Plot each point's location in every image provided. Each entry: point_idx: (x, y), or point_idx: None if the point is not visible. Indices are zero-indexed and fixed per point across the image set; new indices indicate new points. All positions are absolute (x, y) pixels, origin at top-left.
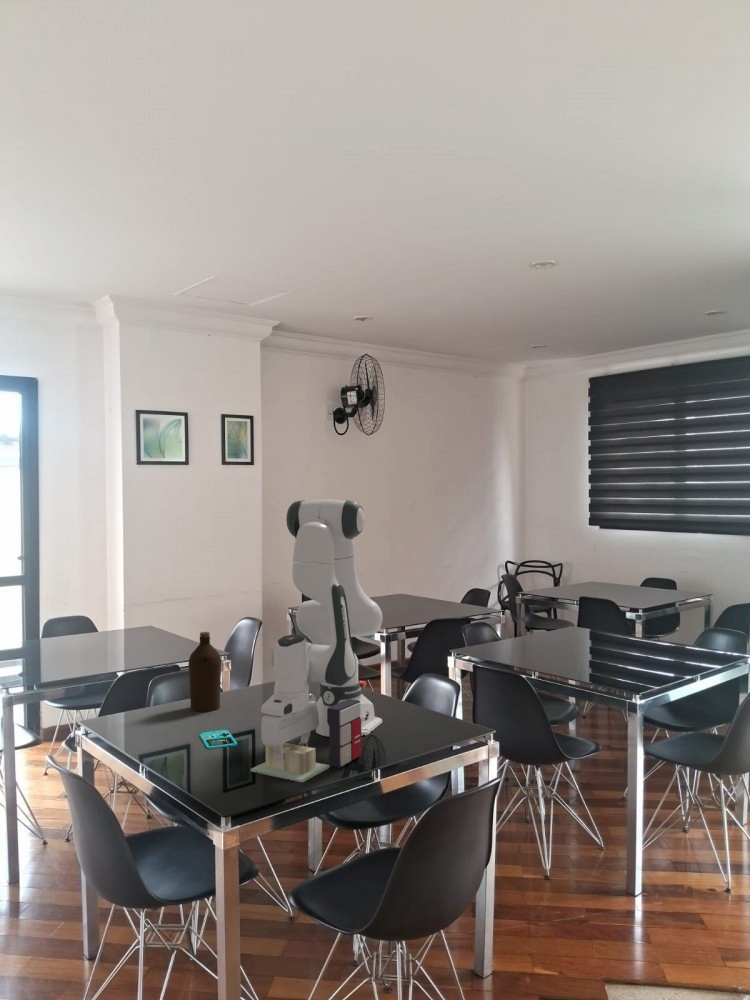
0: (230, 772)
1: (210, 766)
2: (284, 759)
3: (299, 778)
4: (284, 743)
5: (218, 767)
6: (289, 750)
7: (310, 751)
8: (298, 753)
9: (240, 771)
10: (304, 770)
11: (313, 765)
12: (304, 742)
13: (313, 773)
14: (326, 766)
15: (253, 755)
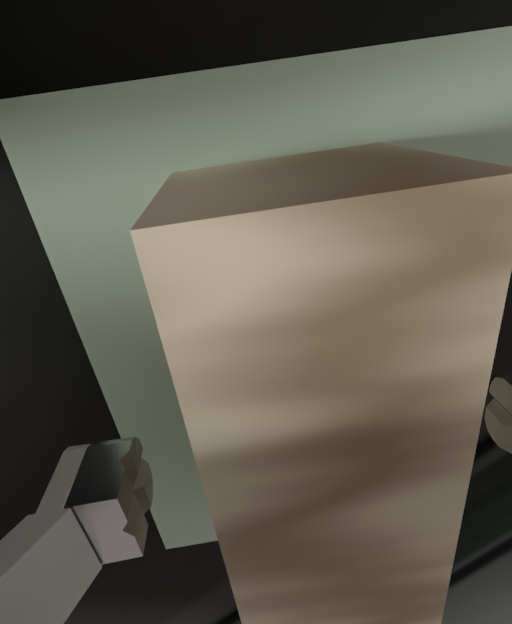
0: (501, 531)
1: (463, 615)
2: (501, 377)
3: (505, 88)
4: (267, 614)
5: (460, 594)
6: (454, 448)
7: (301, 203)
8: (498, 288)
9: (468, 514)
10: (385, 146)
11: (211, 171)
12: (75, 529)
13: (310, 65)
14: (43, 105)
15: (238, 614)
